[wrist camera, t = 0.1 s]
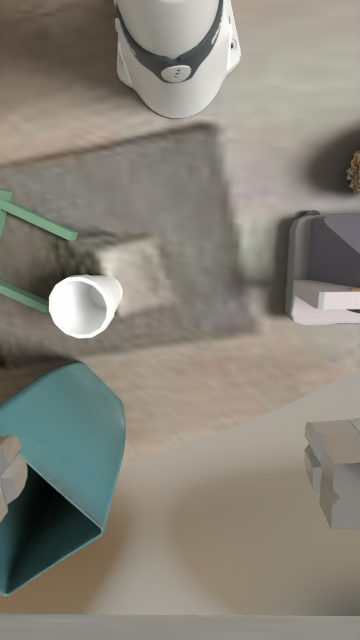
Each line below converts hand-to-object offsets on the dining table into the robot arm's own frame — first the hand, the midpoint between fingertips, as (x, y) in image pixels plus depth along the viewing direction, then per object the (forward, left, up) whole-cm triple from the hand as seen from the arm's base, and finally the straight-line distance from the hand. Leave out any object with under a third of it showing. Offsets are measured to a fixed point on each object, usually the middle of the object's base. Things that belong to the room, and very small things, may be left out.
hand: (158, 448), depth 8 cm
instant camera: (+2, +26, -48) cm, 55 cm away
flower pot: (+25, -26, -48) cm, 60 cm away
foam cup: (+3, -17, -48) cm, 51 cm away
